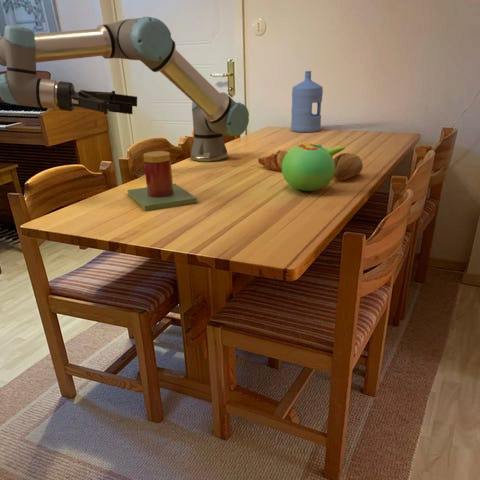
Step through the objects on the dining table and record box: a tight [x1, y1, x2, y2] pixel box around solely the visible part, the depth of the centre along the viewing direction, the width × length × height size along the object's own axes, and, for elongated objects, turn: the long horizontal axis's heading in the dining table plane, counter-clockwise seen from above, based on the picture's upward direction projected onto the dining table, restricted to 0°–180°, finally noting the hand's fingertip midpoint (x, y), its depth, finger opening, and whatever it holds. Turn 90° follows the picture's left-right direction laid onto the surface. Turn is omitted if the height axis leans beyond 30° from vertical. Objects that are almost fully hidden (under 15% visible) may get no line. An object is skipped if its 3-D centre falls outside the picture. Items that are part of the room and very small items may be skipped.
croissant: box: [257, 149, 288, 172], centre depth 180 cm, size 21×10×8 cm, turn 63°
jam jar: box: [143, 159, 174, 197], centre depth 147 cm, size 8×8×11 cm
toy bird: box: [281, 141, 346, 192], centre depth 153 cm, size 18×17×15 cm
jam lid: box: [143, 150, 171, 163], centre depth 145 cm, size 8×8×2 cm
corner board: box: [127, 182, 198, 212], centre depth 150 cm, size 20×16×2 cm
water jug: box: [290, 70, 324, 133], centre depth 250 cm, size 16×16×28 cm
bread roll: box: [333, 152, 364, 181], centre depth 166 cm, size 10×15×8 cm, turn 149°
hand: (134, 105), depth 141 cm, fingers open, 13 cm apart
